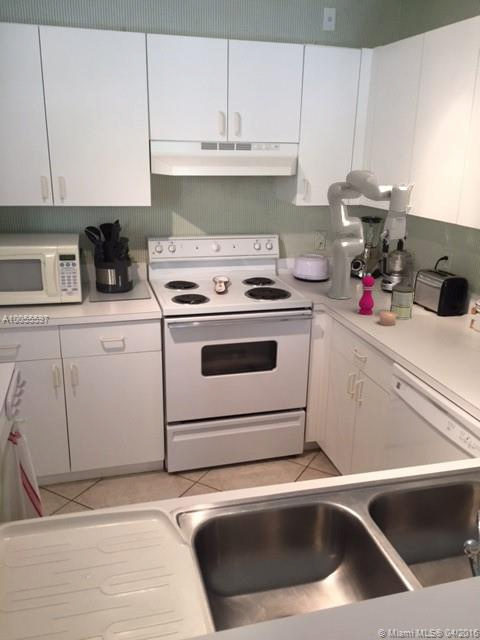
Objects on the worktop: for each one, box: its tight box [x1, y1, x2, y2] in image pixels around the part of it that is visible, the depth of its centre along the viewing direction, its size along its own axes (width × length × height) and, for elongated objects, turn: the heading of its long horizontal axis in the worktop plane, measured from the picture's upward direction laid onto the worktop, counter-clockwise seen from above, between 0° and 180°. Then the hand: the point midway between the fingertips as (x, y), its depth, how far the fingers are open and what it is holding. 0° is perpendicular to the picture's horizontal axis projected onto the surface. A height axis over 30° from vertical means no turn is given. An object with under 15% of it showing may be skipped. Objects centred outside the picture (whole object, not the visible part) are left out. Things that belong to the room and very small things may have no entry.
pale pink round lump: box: [379, 310, 397, 327], centre depth 242 cm, size 7×7×5 cm
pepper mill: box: [358, 272, 376, 316], centre depth 255 cm, size 7×7×20 cm
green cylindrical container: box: [389, 284, 416, 321], centre depth 251 cm, size 10×10×14 cm
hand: (392, 251), depth 245 cm, fingers open, 9 cm apart
